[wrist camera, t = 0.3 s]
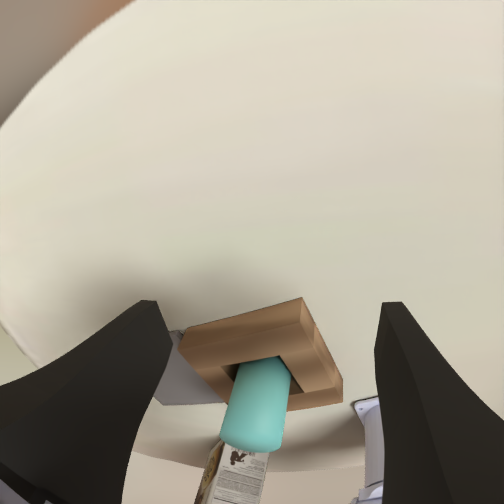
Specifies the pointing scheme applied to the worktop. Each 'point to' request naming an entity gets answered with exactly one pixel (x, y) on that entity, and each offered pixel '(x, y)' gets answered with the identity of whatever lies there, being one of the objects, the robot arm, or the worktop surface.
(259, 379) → the plug
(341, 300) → the worktop surface
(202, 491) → the coffee box
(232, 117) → the worktop surface
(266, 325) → the socket block
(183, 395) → the mat
